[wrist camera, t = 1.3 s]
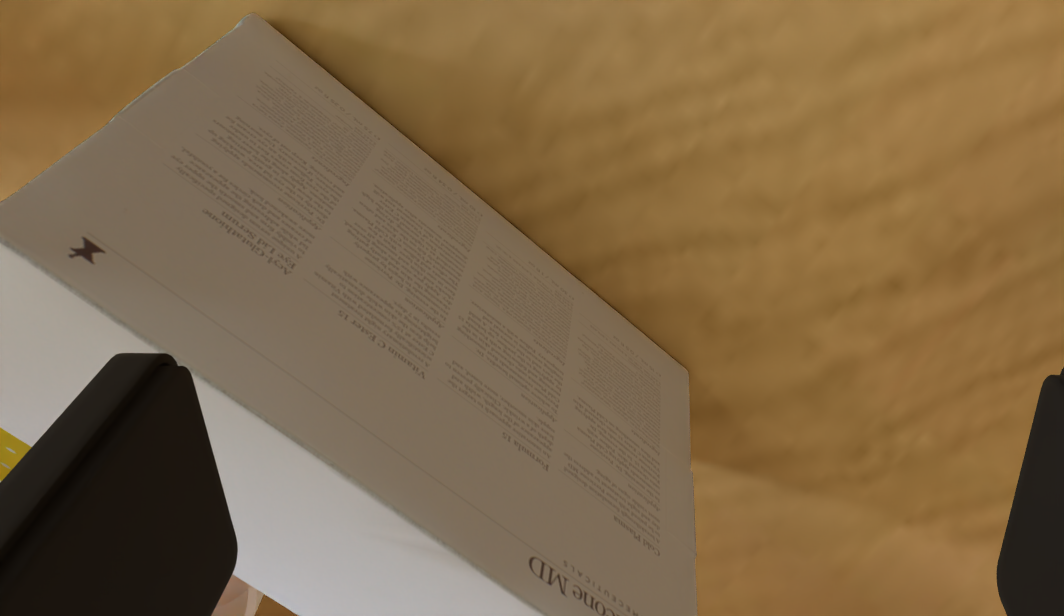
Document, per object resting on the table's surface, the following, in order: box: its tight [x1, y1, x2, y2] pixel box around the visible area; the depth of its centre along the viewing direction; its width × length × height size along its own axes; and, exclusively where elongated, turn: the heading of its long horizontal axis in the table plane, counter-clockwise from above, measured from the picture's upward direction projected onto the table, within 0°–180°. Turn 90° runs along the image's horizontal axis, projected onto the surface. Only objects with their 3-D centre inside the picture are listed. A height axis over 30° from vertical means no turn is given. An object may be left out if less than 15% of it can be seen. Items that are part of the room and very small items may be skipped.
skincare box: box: [0, 13, 698, 616], centre depth 29 cm, size 21×5×16 cm, turn 49°
